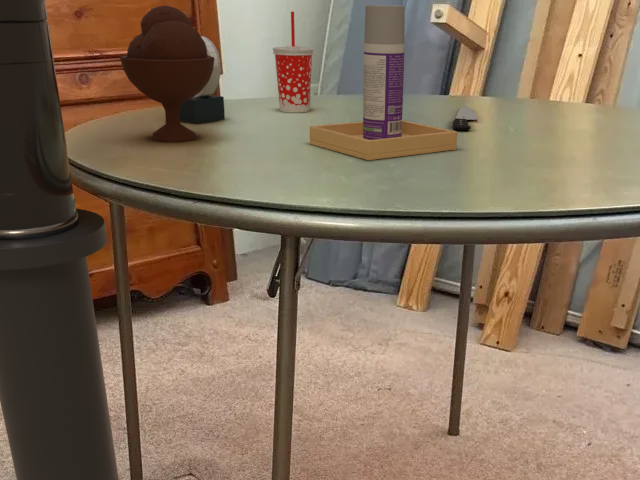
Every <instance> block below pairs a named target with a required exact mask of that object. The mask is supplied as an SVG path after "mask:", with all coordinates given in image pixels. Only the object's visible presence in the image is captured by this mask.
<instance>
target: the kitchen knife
mask: <svg viewBox="0 0 640 480" xmlns="http://www.w3.org/2000/svg"><path fill="white" fill-rule="evenodd" d="M468 120H473V121H476V120H477V121H478V116H477V114H476V112H475V111H474V110H473V109H472V108H470V107H469V106H463V107H460V108H459V110H458V112H457V114H456V116H455V118H454V120H453V121H452V129H454V130H455V131H456V130H457V131H470V130H471V128H472V127H471V126H470V125H469V123H468Z"/></svg>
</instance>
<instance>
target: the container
mask: <svg viewBox="0 0 640 480" xmlns="http://www.w3.org/2000/svg"><path fill="white" fill-rule="evenodd" d="M364 9H365V12H364V13H365V14H364V40H363V97H362V98H363V99H362V100H363V101H362V102H363V103H362V105H363V108H362V112H363V113H362V114H363V115H362V121H363V139H367V140H376V139H385V138H394V137H402V120H403V108H404V107H403V105H404V99H403V98H404V80H405V79H404V77H405V20H406V19H405V15H406V14H405V9H406V8H405V5H389V4H365V8H364Z"/></svg>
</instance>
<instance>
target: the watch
mask: <svg viewBox="0 0 640 480" xmlns="http://www.w3.org/2000/svg"><path fill="white" fill-rule="evenodd" d="M200 36H201V37H202V39H203V40H204V42H205V44H206V48H207V55H208V56H212V57H214V66H213V72H212V75H211V77H210V80H209V82H208V83H207V84H206V85H205V87H204V88H203V89H202V90H201V91H200V92H199V93H198V94H196V95H195V96H194V97H193V98H191V99H189V100H187V101H185V102H183V103H181V106H180V109H179V115H180V123H189V124H195V125H198V124H203V123H204V124H205V123H211V122H219V121H223V120H225V119H226V115H225V99H224V96H223V95H215V92H216V90H217V88H218V86H219V83H220V78H221V75H222V67H221V58H220V55H219V51H218V50H217V47H216V46H215V44H214V42H213V41H211V40H210V38H208V37H206V36H204V35H200Z"/></svg>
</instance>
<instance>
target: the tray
mask: <svg viewBox="0 0 640 480" xmlns="http://www.w3.org/2000/svg"><path fill="white" fill-rule="evenodd" d="M309 144H310V145H313V146H316V147H320V148H323V149H327V150H331V151H334V152H338V153H340V154H345V155H348V156H352V157H354V158H359V159H362V160H366V161H374V160H383V159H391V158H399V157H406V156H415V155H423V154H431V153H438V152H446V151H448V152H449V151H456V150H457V145H458V131H456V130H452V129H447V128H446V129H445V128H442V127H437V126H433V125H427V124H422V123H419V122H414V121H409V120H404V119H402V137H394V138H385V139H376V140H367V139H363V120H362V121H351V122H343V123H341V122H340V123H329V124H320V125H319V124H318V125H310V126H309Z"/></svg>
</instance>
